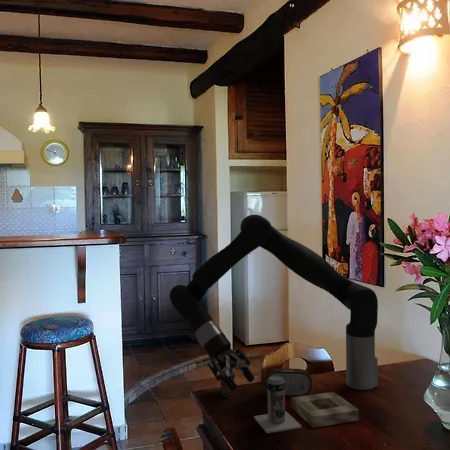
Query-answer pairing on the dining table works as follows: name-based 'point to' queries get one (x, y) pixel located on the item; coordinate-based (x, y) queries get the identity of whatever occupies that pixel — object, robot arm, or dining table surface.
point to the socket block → (334, 413)
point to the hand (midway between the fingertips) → (244, 385)
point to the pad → (273, 427)
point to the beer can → (276, 399)
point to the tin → (292, 380)
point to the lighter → (225, 389)
